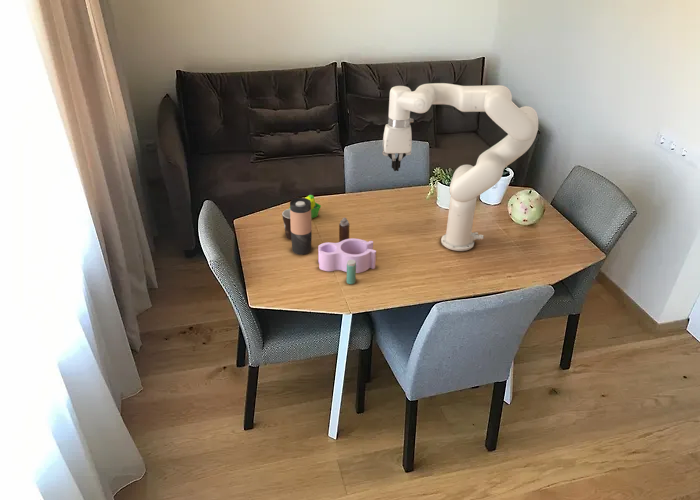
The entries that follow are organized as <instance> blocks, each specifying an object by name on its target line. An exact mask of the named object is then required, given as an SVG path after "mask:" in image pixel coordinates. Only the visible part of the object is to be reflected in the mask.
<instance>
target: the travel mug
mask: <svg viewBox="0 0 700 500" xmlns="http://www.w3.org/2000/svg"><path fill="white" fill-rule="evenodd" d="M289 207H290V208H289V209H290V221H291V240H290V241H291V250H292V252H293V254H295V255H299V256H304V255H308V254H309V253H311V251H312V233H313V232H312V231H313V229H312V219H311V201H310V200H309V199H306V198H305V197H295V198H293V199H291V200H290V201H289Z"/></svg>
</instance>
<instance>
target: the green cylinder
mask: <svg viewBox="0 0 700 500" xmlns="http://www.w3.org/2000/svg"><path fill="white" fill-rule="evenodd" d="M345 279H346V283H347V284H348V285H354V284H356V282H357V281H356V280H357V273H356V261H355V260H348V261H347V272H346V278H345Z"/></svg>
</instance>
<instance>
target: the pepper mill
mask: <svg viewBox="0 0 700 500" xmlns="http://www.w3.org/2000/svg"><path fill="white" fill-rule="evenodd" d="M345 239H350V223H349V220H348V219H347V217H342V219H341V220H340V222H339V223H338V242H341V241H343V240H345Z"/></svg>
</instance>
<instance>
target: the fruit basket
mask: <svg viewBox="0 0 700 500" xmlns="http://www.w3.org/2000/svg"><path fill="white" fill-rule="evenodd" d="M304 198H306V199H309V200H310V201H311V220H312V219H314V218H317V217H318V216H319V212H320V209H321V207H322V205H320V204H319V203H317V202H316V200H315V196H314V195H313V194H309V195H307V196H306V197H304ZM288 209H290V206H289V207H288Z"/></svg>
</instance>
